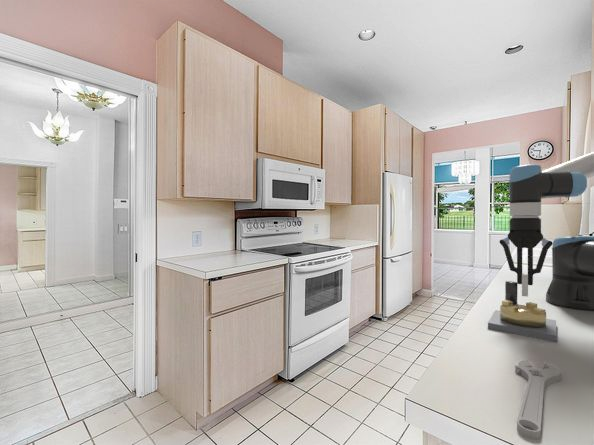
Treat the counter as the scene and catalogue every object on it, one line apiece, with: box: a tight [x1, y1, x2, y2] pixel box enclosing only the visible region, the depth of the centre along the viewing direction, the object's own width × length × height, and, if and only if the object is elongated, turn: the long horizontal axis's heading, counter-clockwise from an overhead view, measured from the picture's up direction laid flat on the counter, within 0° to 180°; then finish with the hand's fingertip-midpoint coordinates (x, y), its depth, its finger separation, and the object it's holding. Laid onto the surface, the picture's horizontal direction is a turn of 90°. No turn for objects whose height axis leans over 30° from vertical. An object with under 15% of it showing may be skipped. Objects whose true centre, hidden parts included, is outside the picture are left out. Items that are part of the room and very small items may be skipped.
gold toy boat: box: [499, 280, 547, 327], centre depth 84 cm, size 18×10×8 cm, turn 157°
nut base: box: [487, 309, 558, 343], centre depth 83 cm, size 19×15×2 cm
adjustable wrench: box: [514, 359, 562, 440], centre depth 51 cm, size 25×6×2 cm, turn 133°
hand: (524, 295), depth 90 cm, fingers closed
